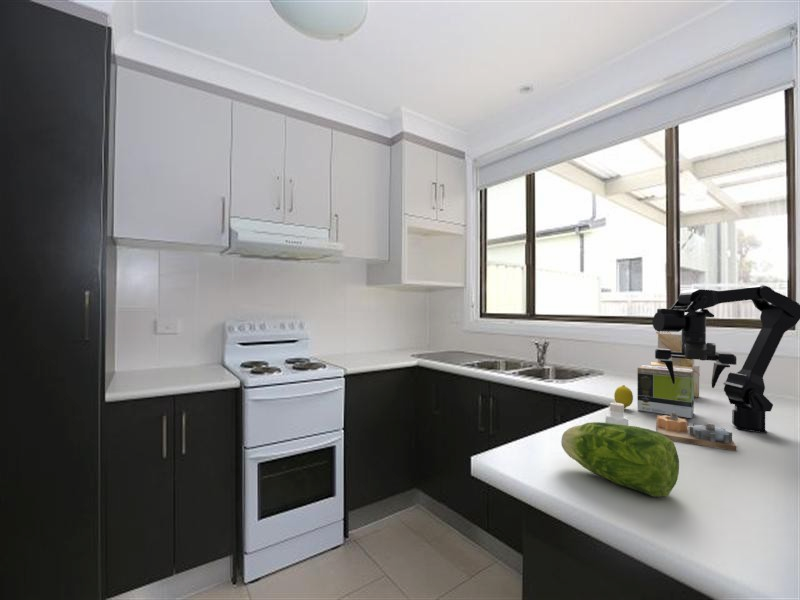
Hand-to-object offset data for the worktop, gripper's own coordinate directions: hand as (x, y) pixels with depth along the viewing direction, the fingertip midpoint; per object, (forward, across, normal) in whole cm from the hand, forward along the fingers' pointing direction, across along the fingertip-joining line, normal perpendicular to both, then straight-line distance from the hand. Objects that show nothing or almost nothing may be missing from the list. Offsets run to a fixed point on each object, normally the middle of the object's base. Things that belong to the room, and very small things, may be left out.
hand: (692, 385), depth 114 cm
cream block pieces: (+13, 0, +50) cm, 51 cm away
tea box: (+12, -6, +16) cm, 21 cm away
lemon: (+12, -18, +12) cm, 25 cm away
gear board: (+12, -1, -12) cm, 17 cm away
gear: (+11, -6, -9) cm, 15 cm away
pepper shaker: (+12, -18, -28) cm, 35 cm away
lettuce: (+12, -17, -55) cm, 59 cm away
